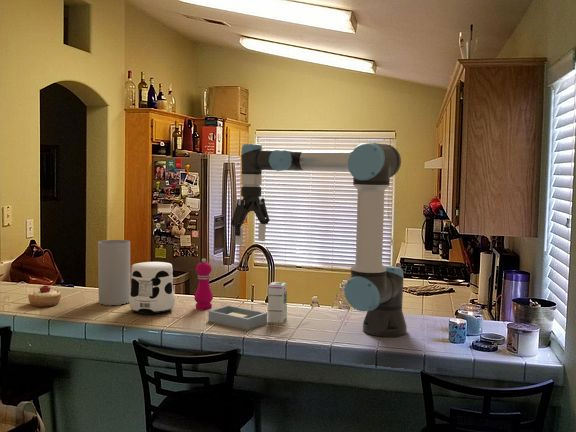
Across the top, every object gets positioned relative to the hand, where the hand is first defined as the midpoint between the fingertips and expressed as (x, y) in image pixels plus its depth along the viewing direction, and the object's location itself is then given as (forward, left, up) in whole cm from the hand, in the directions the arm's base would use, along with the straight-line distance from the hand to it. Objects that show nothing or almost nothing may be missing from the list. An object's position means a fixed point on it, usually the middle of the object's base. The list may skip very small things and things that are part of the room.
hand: (250, 242), depth 219 cm
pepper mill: (+22, +2, -28) cm, 36 cm away
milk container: (+35, +17, -28) cm, 48 cm away
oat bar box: (-3, +11, -27) cm, 30 cm away
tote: (-3, +11, -28) cm, 30 cm away
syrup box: (-13, +1, -28) cm, 31 cm away
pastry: (+76, +36, -28) cm, 88 cm away
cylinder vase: (+57, +17, -28) cm, 66 cm away
